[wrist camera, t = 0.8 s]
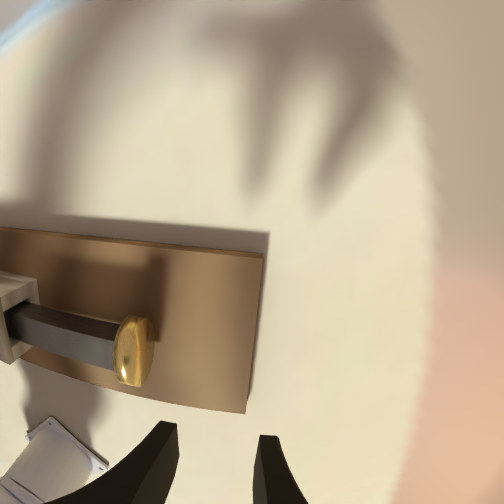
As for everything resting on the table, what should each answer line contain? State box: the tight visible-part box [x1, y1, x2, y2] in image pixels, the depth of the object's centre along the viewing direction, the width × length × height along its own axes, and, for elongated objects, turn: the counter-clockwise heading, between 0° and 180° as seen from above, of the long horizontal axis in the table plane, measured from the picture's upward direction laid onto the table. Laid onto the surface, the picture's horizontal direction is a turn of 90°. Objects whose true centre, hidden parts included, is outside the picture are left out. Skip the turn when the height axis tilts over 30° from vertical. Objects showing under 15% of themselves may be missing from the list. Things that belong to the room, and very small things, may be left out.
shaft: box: [3, 301, 155, 387], centre depth 16 cm, size 12×4×4 cm, turn 85°
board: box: [0, 227, 263, 414], centre depth 16 cm, size 25×11×6 cm, turn 85°
